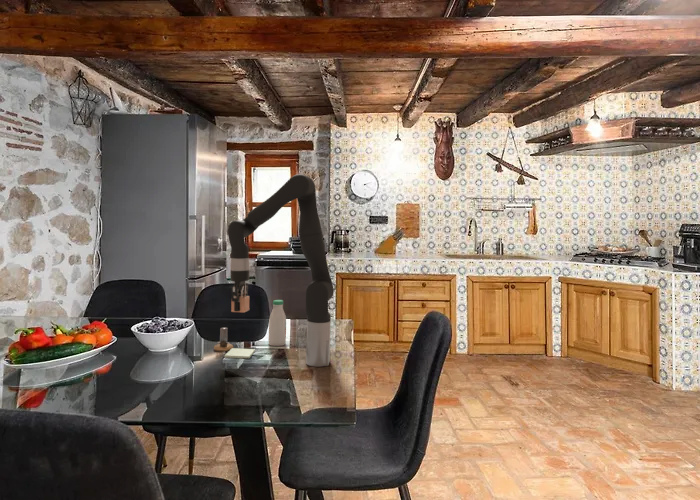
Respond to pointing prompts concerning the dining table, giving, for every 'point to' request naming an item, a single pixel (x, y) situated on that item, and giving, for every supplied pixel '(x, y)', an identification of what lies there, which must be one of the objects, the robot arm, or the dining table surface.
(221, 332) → the post
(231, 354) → the pad
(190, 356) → the dining table surface
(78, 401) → the dining table surface
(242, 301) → the salmon orange cube
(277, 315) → the milk bottle
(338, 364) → the dining table surface
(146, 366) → the dining table surface
